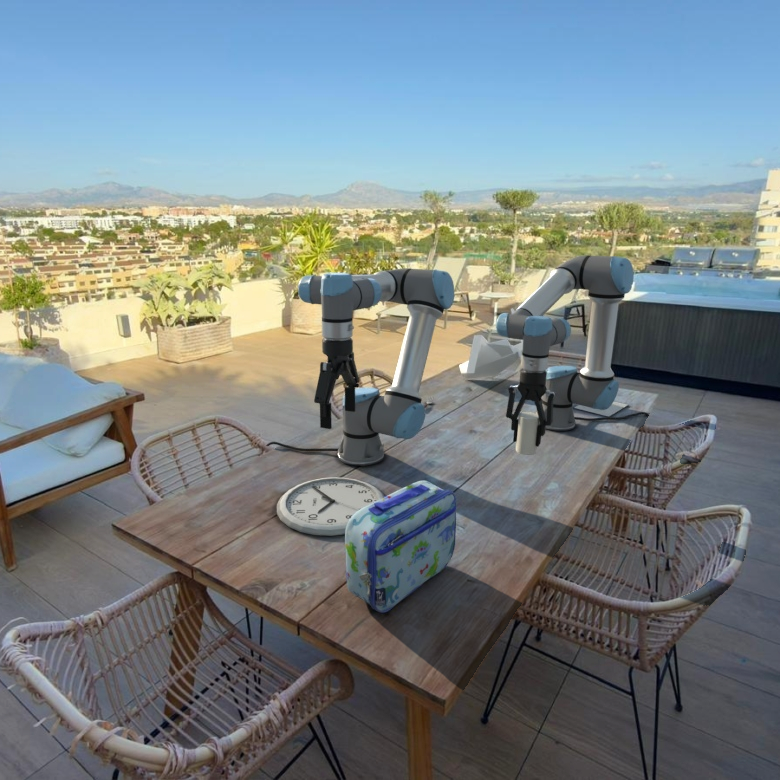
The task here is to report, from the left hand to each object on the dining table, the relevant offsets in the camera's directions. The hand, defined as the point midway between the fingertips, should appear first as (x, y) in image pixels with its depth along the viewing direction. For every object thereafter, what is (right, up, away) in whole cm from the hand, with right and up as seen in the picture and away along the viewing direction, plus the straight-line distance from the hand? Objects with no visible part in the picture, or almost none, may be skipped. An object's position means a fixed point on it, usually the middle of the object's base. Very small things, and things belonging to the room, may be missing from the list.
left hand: (338, 419), depth 134 cm
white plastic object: (+66, +9, +119) cm, 136 cm away
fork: (+29, +1, +89) cm, 93 cm away
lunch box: (+16, -34, -22) cm, 44 cm away
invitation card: (+105, 0, +92) cm, 139 cm away
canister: (+55, -11, +26) cm, 62 cm away
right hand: (+55, -9, +25) cm, 61 cm away
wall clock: (-2, -24, +8) cm, 26 cm away
